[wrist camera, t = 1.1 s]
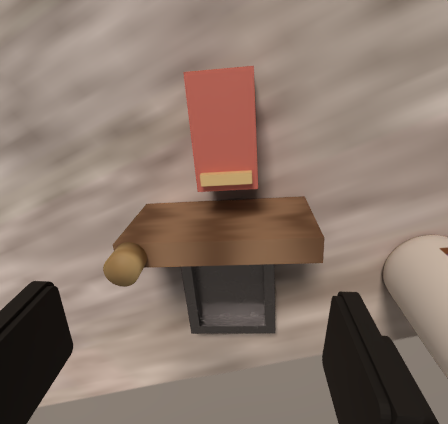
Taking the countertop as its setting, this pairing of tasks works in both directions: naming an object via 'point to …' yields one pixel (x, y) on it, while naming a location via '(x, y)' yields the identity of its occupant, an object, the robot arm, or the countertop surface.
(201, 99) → the red block
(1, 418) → the robot arm
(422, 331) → the milk bottle
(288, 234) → the door board
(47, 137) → the countertop surface
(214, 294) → the tray
